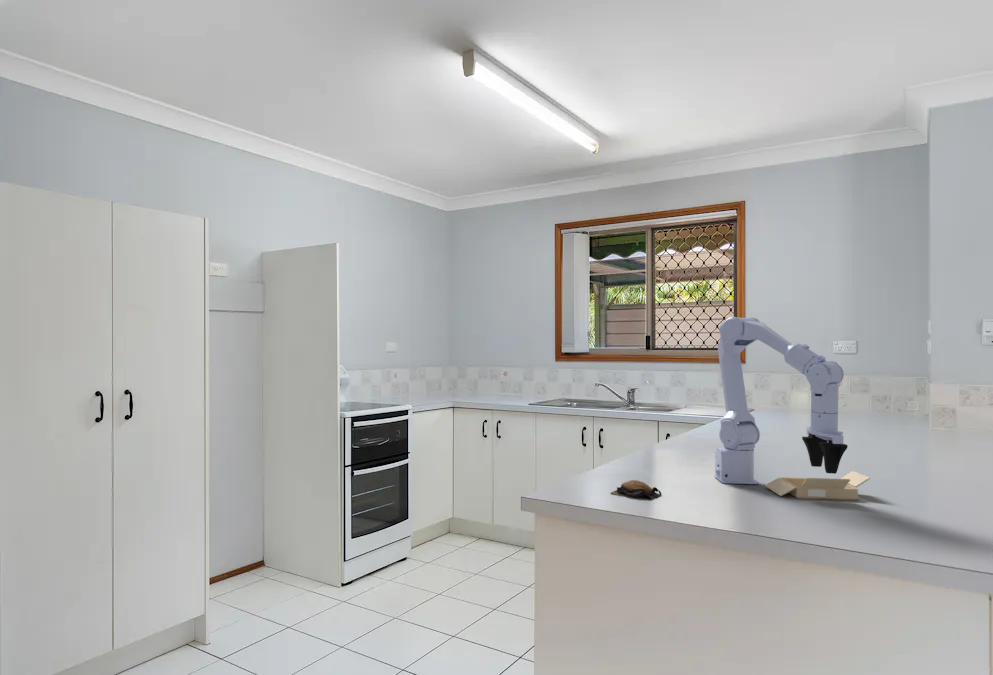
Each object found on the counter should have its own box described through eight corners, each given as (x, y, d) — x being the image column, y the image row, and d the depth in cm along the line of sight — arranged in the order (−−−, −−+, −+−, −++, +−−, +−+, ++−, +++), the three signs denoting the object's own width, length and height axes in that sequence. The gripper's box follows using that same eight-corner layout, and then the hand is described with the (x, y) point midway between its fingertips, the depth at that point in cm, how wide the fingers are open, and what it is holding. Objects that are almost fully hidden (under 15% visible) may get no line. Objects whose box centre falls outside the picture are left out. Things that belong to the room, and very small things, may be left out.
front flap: (800, 486, 146) (801, 487, 146) (806, 477, 143) (806, 479, 143) (843, 487, 145) (843, 488, 145) (849, 479, 142) (850, 480, 142)
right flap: (869, 477, 146) (870, 478, 146) (852, 470, 154) (853, 471, 154) (855, 486, 147) (856, 487, 147) (839, 479, 155) (839, 480, 155)
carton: (780, 497, 146) (781, 487, 146) (758, 483, 161) (758, 474, 161) (858, 500, 145) (858, 489, 145) (828, 486, 160) (828, 476, 160)
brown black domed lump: (608, 496, 148) (608, 481, 148) (623, 490, 155) (623, 475, 155) (650, 504, 141) (650, 487, 141) (664, 496, 148) (664, 481, 148)
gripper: (857, 416, 137) (856, 476, 137) (827, 409, 152) (826, 464, 152) (825, 415, 138) (824, 475, 138) (798, 408, 152) (797, 463, 152)
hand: (823, 469), depth 145 cm, fingers open, 7 cm apart
